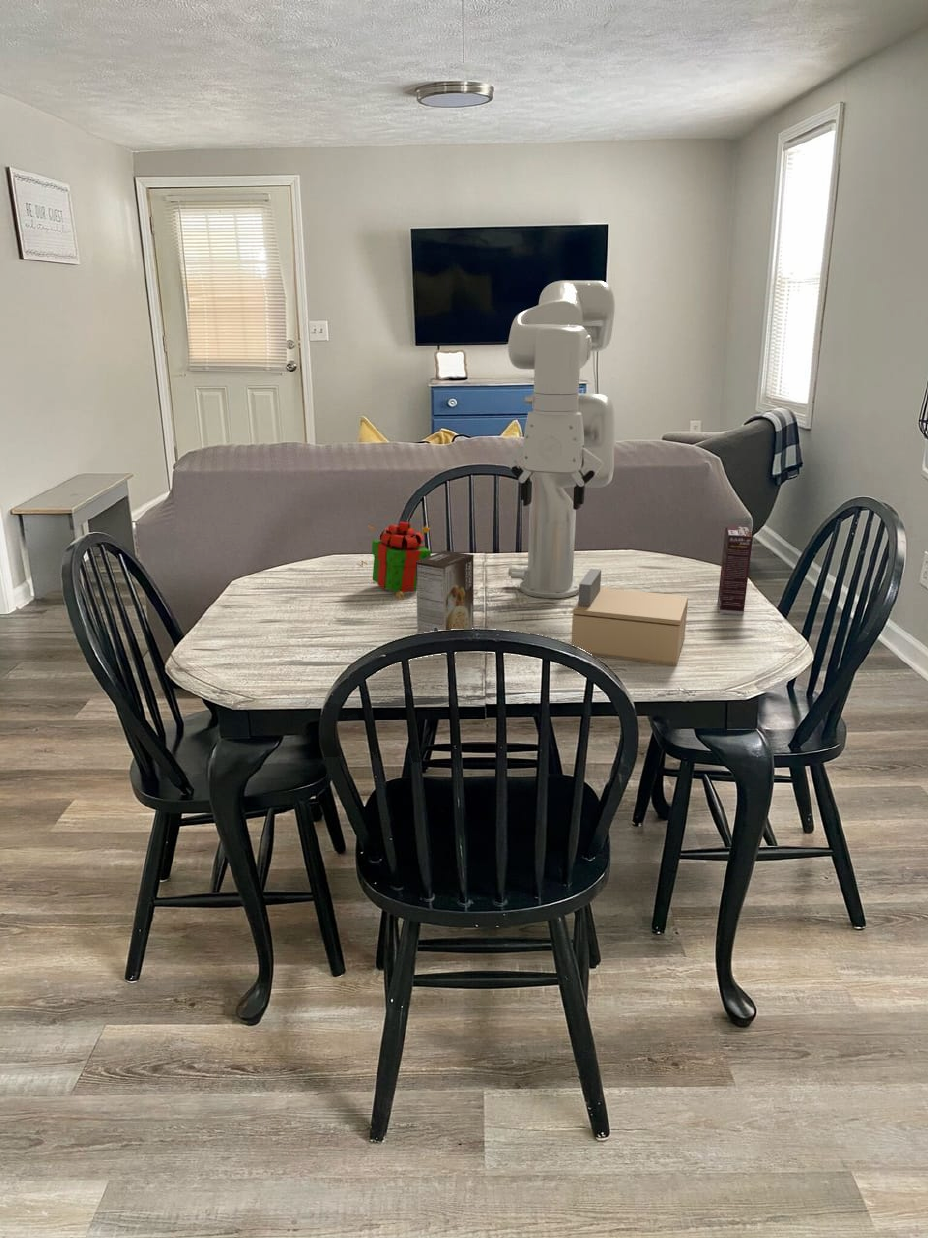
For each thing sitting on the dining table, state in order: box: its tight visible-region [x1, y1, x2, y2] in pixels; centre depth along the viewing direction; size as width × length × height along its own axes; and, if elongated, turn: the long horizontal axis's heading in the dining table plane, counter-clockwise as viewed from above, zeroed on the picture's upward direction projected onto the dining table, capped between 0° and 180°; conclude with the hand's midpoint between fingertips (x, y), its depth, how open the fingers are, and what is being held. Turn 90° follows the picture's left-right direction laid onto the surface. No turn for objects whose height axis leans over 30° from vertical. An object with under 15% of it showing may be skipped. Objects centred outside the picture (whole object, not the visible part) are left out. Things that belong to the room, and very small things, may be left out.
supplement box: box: [717, 525, 754, 616], centre depth 183 cm, size 9×5×16 cm, turn 168°
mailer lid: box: [572, 568, 689, 625], centre depth 161 cm, size 18×14×5 cm
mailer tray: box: [570, 602, 689, 667], centre depth 164 cm, size 18×14×7 cm
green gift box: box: [357, 521, 432, 599], centre depth 197 cm, size 20×19×14 cm
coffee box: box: [415, 550, 475, 634], centre depth 162 cm, size 9×6×16 cm
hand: (551, 506), depth 161 cm, fingers open, 8 cm apart
